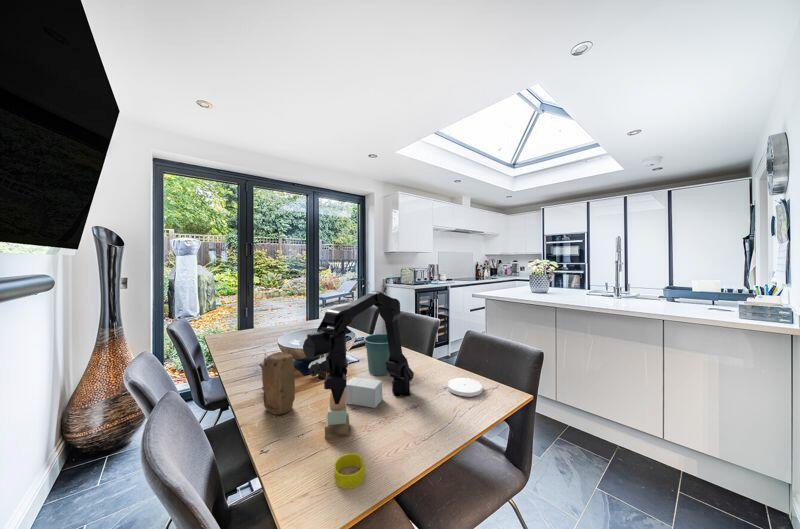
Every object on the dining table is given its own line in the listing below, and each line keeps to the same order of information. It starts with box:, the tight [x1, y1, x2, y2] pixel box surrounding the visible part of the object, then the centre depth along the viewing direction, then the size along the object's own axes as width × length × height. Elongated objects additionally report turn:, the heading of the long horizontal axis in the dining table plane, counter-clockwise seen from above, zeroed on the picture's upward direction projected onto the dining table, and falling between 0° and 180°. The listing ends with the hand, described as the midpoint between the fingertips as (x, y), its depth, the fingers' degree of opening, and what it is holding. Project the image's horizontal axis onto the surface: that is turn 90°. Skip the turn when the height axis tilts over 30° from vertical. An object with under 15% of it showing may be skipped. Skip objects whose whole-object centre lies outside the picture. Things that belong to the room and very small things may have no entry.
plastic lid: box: [446, 377, 483, 397], centre depth 119 cm, size 14×14×2 cm
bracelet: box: [333, 452, 365, 489], centre depth 72 cm, size 7×8×3 cm
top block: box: [327, 402, 348, 425], centre depth 91 cm, size 6×6×4 cm
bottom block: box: [324, 412, 350, 439], centre depth 91 cm, size 7×7×4 cm
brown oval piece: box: [328, 389, 347, 410], centre depth 91 cm, size 5×5×4 cm
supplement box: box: [345, 376, 383, 409], centre depth 110 cm, size 7×7×13 cm
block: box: [261, 351, 296, 416], centre depth 104 cm, size 11×8×20 cm
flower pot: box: [363, 333, 390, 377], centre depth 139 cm, size 16×16×16 cm
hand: (337, 398), depth 91 cm, fingers open, 6 cm apart
